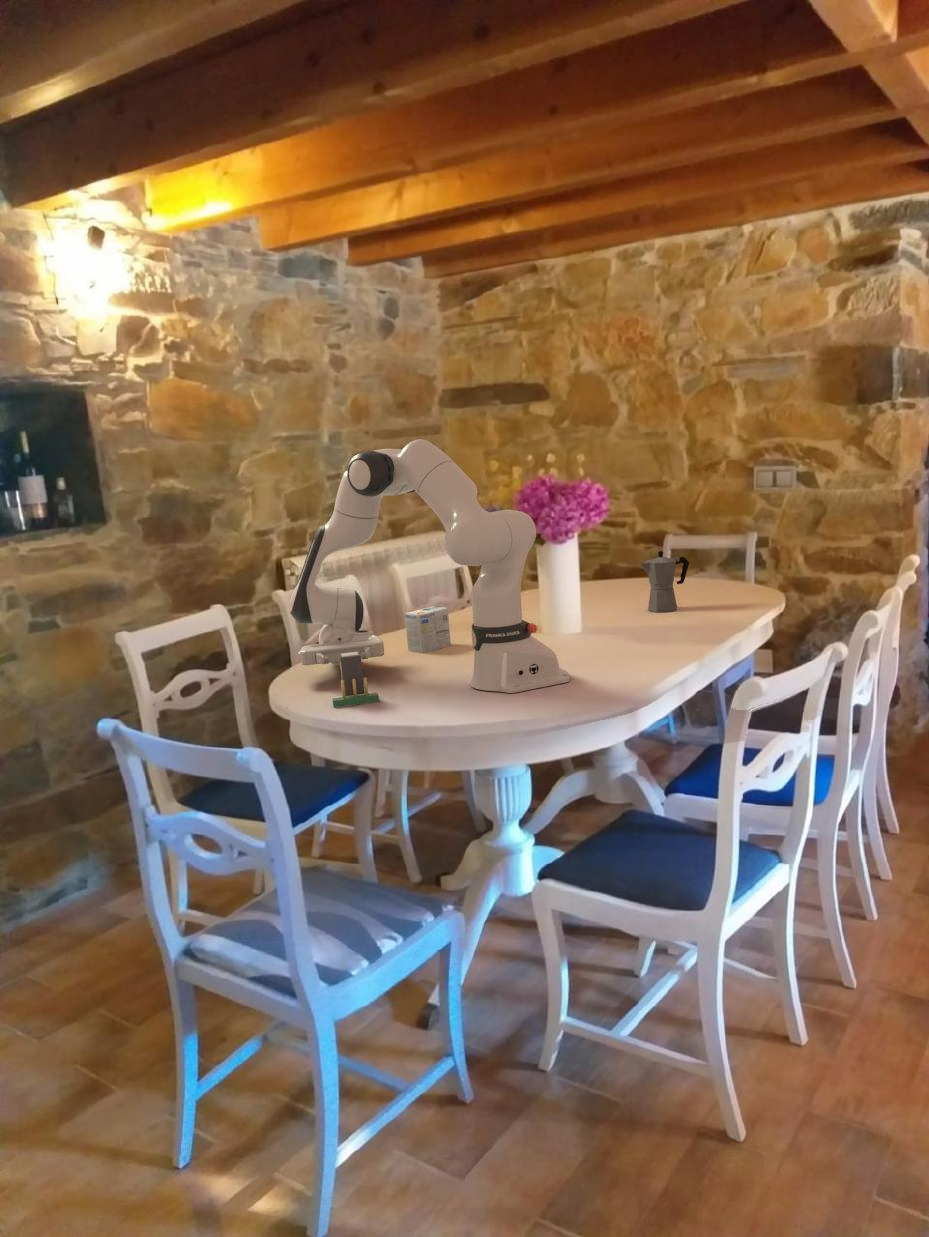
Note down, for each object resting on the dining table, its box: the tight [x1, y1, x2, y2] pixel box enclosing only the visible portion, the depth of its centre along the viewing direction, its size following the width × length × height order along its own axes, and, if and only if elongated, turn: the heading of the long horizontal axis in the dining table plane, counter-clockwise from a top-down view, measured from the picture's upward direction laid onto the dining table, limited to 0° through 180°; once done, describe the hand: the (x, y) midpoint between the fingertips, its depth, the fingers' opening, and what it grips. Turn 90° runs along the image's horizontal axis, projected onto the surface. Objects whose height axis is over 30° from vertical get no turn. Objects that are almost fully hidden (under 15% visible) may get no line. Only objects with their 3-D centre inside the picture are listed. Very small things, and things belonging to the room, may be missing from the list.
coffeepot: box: [639, 550, 690, 613], centre depth 282 cm, size 15×9×18 cm, turn 100°
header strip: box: [332, 676, 380, 708], centre depth 206 cm, size 10×2×6 cm, turn 103°
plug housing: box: [339, 652, 365, 696], centre depth 209 cm, size 4×4×10 cm
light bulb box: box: [404, 605, 452, 654], centre depth 255 cm, size 11×7×11 cm, turn 135°
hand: (345, 658), depth 220 cm, fingers open, 8 cm apart
